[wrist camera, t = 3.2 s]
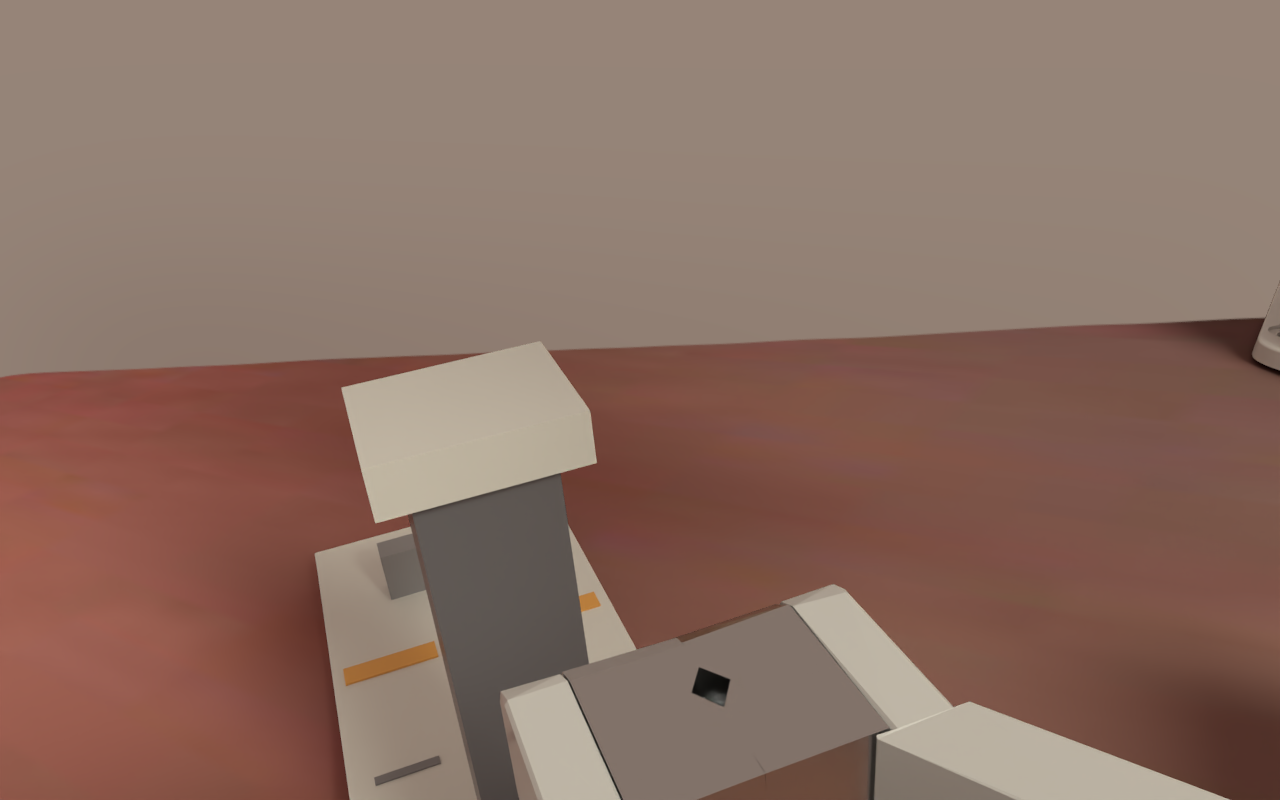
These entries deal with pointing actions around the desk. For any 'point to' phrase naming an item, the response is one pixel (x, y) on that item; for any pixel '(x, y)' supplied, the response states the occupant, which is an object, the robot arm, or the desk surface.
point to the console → (411, 668)
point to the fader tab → (484, 523)
